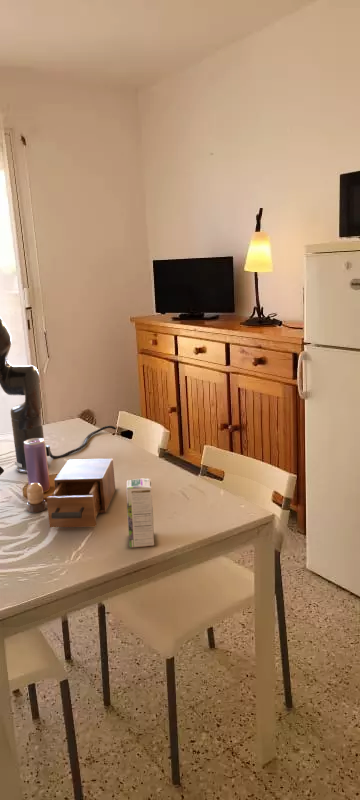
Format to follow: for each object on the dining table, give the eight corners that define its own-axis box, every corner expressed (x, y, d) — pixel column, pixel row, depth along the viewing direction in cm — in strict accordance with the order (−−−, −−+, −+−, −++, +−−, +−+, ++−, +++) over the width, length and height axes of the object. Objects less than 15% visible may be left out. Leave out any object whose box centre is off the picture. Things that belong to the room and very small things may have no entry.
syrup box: (129, 537, 145) (125, 479, 142) (154, 534, 146) (150, 477, 142) (129, 548, 140) (125, 488, 136) (155, 546, 140) (151, 486, 137)
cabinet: (105, 513, 159) (102, 478, 157) (57, 514, 160) (54, 479, 158) (115, 490, 174) (112, 458, 172) (71, 491, 175) (68, 459, 173)
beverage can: (45, 494, 174) (39, 444, 170) (25, 494, 175) (19, 444, 171) (53, 486, 179) (48, 437, 176) (34, 486, 181) (28, 437, 177)
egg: (30, 505, 167) (27, 479, 165) (48, 505, 167) (45, 479, 165) (25, 512, 162) (22, 486, 160) (43, 512, 162) (40, 486, 160)
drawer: (91, 535, 145) (88, 504, 143) (44, 536, 146) (40, 505, 144) (106, 502, 164) (103, 475, 162) (64, 503, 165) (61, 476, 163)
